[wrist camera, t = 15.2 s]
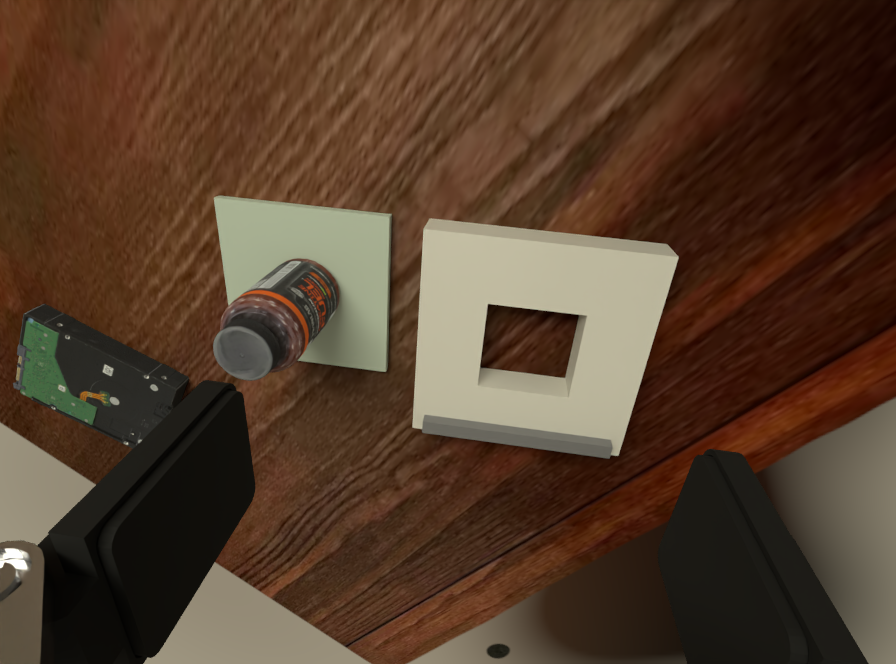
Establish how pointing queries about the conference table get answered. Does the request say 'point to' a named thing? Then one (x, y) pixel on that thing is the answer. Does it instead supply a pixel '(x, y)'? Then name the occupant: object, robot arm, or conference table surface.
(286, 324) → the supplement bottle
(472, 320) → the dispenser block
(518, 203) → the conference table surface
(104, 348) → the disk drive
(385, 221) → the sage mat
